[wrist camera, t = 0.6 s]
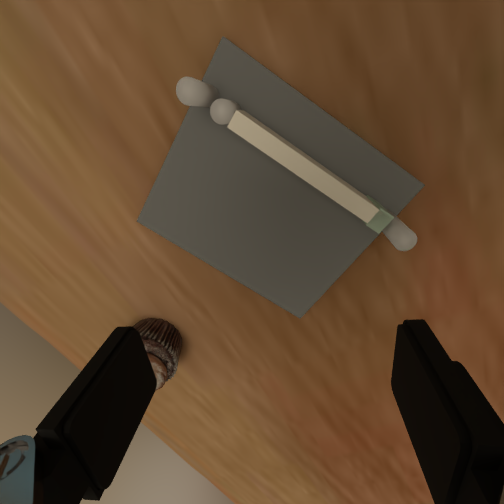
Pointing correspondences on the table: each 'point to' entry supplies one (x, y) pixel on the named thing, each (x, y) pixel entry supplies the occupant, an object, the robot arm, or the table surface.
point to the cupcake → (161, 347)
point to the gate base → (269, 187)
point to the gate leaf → (300, 163)
